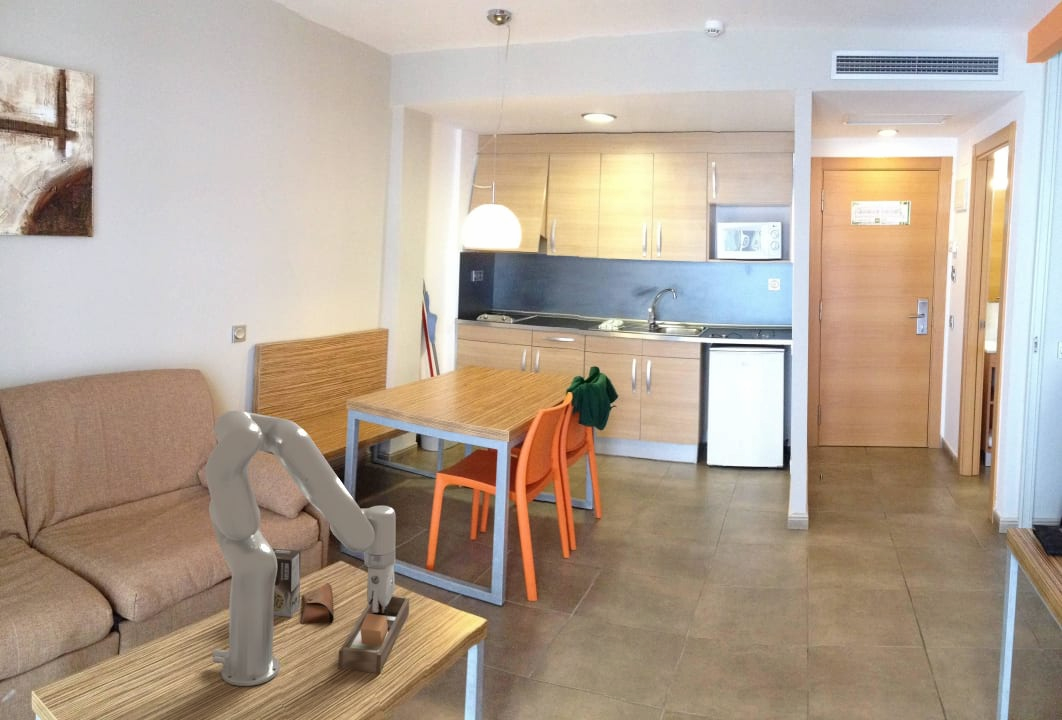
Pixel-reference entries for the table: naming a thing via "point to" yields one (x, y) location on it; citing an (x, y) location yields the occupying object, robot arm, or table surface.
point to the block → (374, 629)
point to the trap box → (373, 656)
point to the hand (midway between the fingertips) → (380, 625)
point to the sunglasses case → (318, 606)
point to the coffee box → (287, 582)
